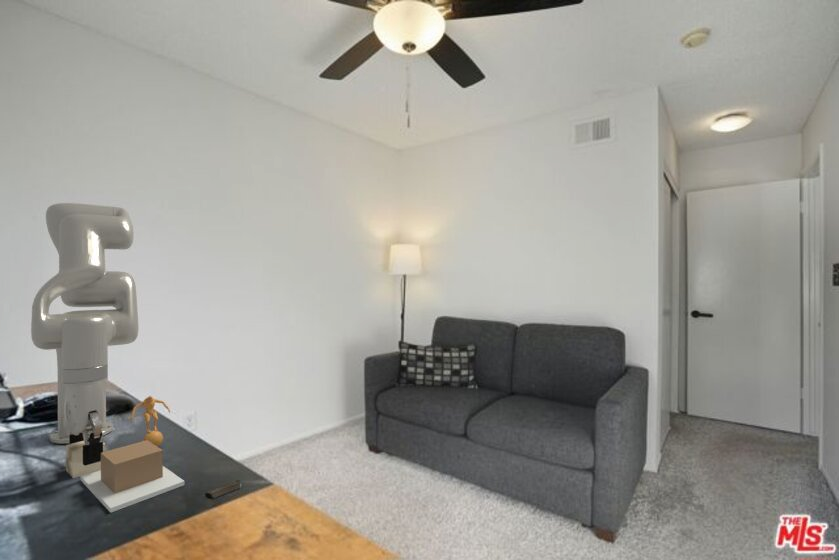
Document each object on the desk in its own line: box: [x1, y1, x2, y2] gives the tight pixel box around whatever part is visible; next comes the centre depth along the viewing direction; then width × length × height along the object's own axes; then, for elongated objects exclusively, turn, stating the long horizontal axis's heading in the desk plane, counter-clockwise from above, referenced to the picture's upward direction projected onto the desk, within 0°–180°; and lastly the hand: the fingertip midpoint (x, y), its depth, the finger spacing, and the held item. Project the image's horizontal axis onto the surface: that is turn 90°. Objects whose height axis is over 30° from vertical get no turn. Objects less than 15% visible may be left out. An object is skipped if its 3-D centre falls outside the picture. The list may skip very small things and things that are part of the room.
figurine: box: [129, 395, 171, 447], centre depth 99 cm, size 8×6×12 cm
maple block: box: [65, 441, 107, 479], centre depth 87 cm, size 5×5×5 cm
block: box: [205, 479, 242, 500], centre depth 79 cm, size 4×6×2 cm, turn 144°
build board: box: [80, 440, 185, 514], centre depth 82 cm, size 18×12×6 cm, turn 52°
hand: (85, 456), depth 87 cm, fingers open, 9 cm apart
